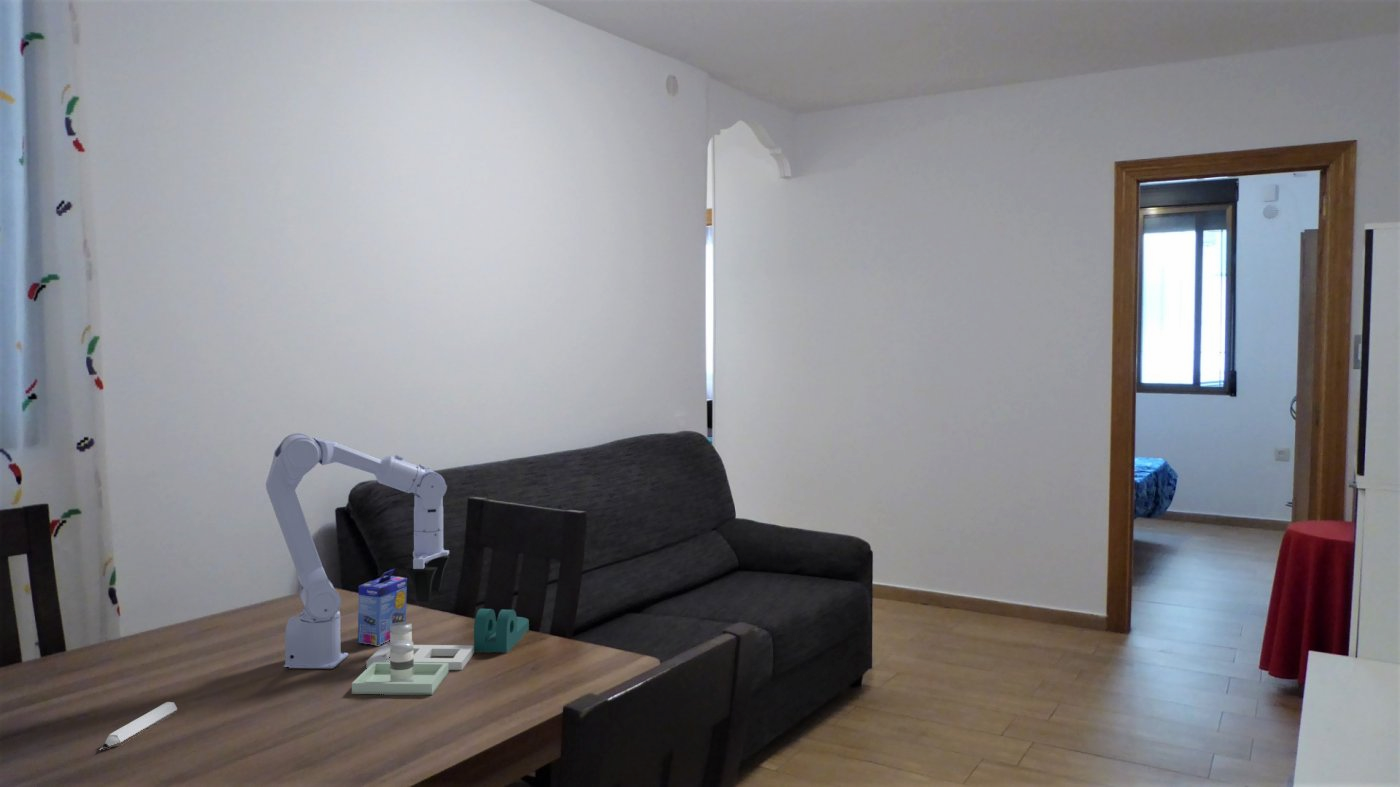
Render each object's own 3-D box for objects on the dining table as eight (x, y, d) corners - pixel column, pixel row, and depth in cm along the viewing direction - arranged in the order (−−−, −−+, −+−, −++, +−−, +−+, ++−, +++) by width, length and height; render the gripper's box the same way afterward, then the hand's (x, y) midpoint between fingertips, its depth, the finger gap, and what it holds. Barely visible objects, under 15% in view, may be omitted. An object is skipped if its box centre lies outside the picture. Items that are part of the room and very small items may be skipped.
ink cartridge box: (379, 647, 191) (379, 576, 191) (356, 644, 193) (355, 574, 192) (408, 633, 201) (407, 565, 200) (385, 630, 202) (385, 563, 202)
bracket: (506, 654, 188) (506, 615, 188) (473, 652, 189) (473, 613, 189) (532, 627, 206) (532, 592, 206) (502, 626, 207) (502, 590, 207)
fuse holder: (366, 669, 178) (366, 661, 178) (383, 651, 188) (383, 644, 188) (461, 670, 178) (461, 662, 178) (474, 652, 188) (474, 645, 188)
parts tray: (351, 694, 165) (351, 683, 165) (373, 672, 176) (373, 662, 176) (431, 695, 165) (431, 684, 165) (448, 673, 176) (448, 663, 176)
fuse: (387, 664, 181) (387, 628, 181) (394, 657, 185) (393, 622, 185) (408, 664, 181) (408, 628, 181) (414, 657, 185) (414, 622, 185)
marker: (98, 761, 141) (168, 717, 156) (109, 754, 140) (179, 712, 156) (89, 745, 141) (161, 703, 156) (101, 739, 140) (171, 698, 156)
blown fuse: (387, 685, 169) (387, 646, 168) (394, 677, 173) (394, 639, 172) (409, 685, 169) (409, 647, 168) (416, 677, 173) (416, 640, 172)
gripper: (438, 536, 183) (438, 606, 184) (457, 523, 198) (457, 587, 199) (402, 536, 183) (402, 605, 184) (423, 522, 198) (424, 586, 199)
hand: (428, 596), depth 191 cm, fingers open, 7 cm apart
